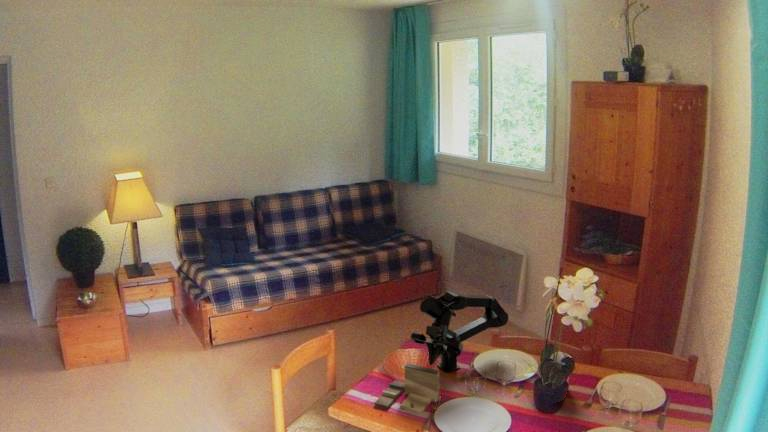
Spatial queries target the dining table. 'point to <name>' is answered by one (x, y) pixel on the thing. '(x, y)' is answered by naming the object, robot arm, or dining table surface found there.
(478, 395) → the dining table surface
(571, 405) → the dining table surface
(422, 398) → the beige stand
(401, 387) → the board
